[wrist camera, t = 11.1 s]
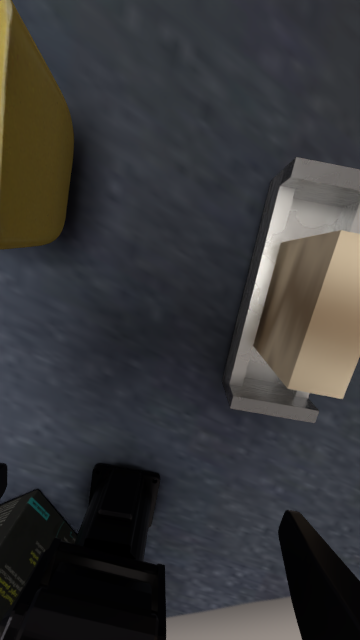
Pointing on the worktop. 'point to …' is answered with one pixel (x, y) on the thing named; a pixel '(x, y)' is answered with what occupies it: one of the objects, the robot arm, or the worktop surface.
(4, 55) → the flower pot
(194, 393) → the worktop surface
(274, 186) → the bottom track
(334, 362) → the door panel
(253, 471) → the worktop surface
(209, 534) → the worktop surface
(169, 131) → the worktop surface
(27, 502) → the tampon box
